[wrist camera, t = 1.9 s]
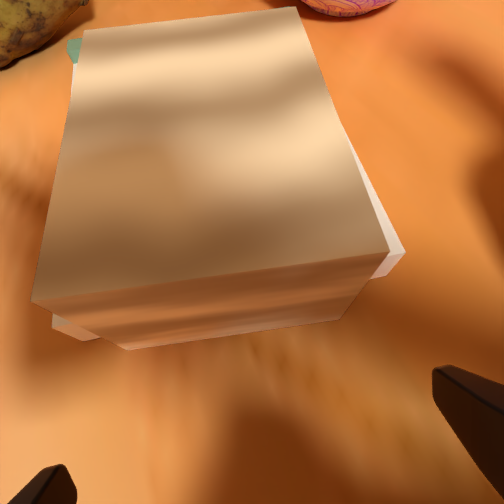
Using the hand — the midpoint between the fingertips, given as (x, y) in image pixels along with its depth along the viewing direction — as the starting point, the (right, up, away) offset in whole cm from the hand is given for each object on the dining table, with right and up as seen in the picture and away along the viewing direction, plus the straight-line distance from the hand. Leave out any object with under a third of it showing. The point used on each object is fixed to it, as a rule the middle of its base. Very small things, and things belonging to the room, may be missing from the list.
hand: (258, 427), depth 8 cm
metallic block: (-2, +6, +14) cm, 16 cm away
